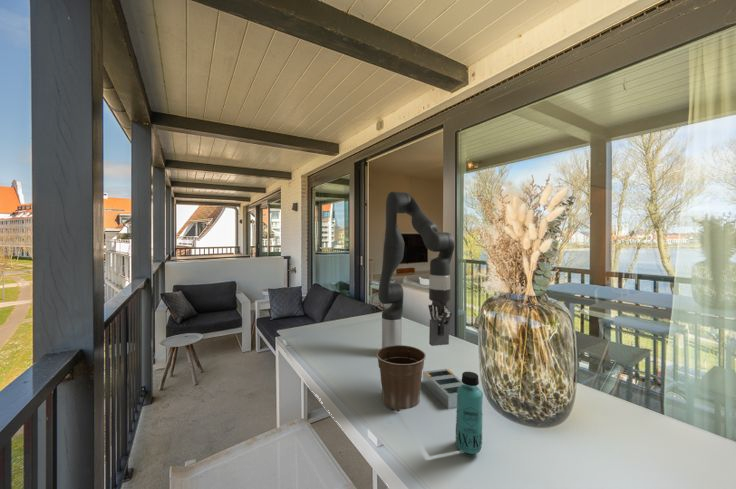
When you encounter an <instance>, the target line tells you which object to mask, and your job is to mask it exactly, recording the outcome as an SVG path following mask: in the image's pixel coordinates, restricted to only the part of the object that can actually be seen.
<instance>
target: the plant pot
mask: <svg viewBox="0 0 736 489" xmlns="http://www.w3.org/2000/svg"><path fill="white" fill-rule="evenodd" d="M375 354H376V355H375V356H376V359H377V363H378V364H377V365H378V368H379V373H380V382H381V394H382V401H383V402H382V403H383V405H385V407H387V408H388V409H390V410H393V409H394V410H396V411H397V412H400V411H401V410H408V409H409V410H410V409H413V408H415V407H417V406H418V405H419V404H420V400H421V398H420V397H421V387H422V378H423V370H424V365H425V364H424V363H425V360H426V358H427V357H426V353H425V352H424V351H423V350H421V349H419V348H418V347H414V346H411V345H402V344H401V345H395V346H388V347H384V348H382V347H381V348H379V349H378V350H377V351H376V353H375Z"/></svg>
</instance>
